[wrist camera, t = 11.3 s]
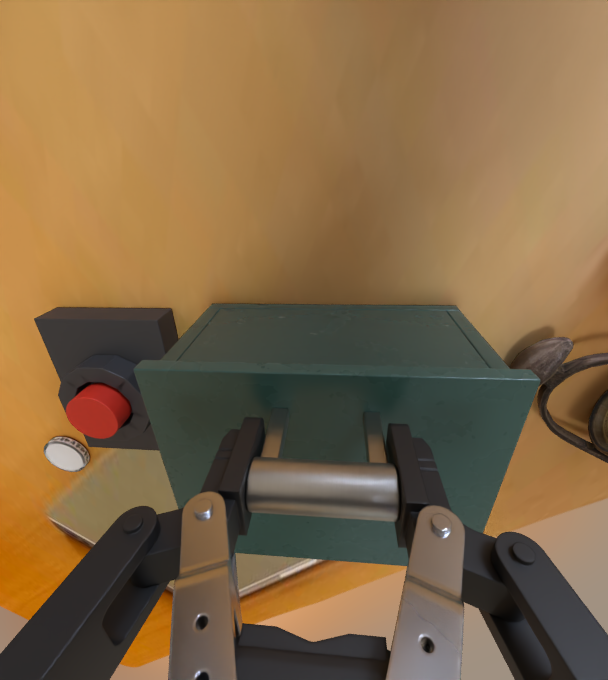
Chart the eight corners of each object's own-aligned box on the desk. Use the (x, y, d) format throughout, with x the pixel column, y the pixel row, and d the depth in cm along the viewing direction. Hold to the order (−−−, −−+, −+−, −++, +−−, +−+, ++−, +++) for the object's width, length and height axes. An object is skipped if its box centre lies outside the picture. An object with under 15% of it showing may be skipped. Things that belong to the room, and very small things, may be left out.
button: (76, 381, 24) (57, 396, 22) (124, 383, 23) (108, 398, 22) (92, 421, 25) (75, 437, 24) (137, 423, 25) (124, 440, 23)
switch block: (56, 307, 25) (10, 329, 21) (171, 308, 24) (143, 331, 21) (104, 429, 30) (73, 463, 27) (199, 433, 30) (180, 469, 26)
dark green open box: (212, 303, 24) (150, 369, 16) (456, 305, 22) (521, 380, 14) (233, 438, 30) (196, 536, 22) (428, 447, 28) (463, 556, 20)
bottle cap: (66, 431, 31) (61, 436, 30) (98, 459, 32) (93, 464, 32) (39, 445, 32) (34, 450, 31) (71, 471, 33) (66, 477, 33)
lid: (142, 359, 15) (53, 450, 10) (531, 368, 14) (634, 480, 9) (196, 537, 22) (156, 642, 17) (464, 557, 20) (503, 678, 15)
